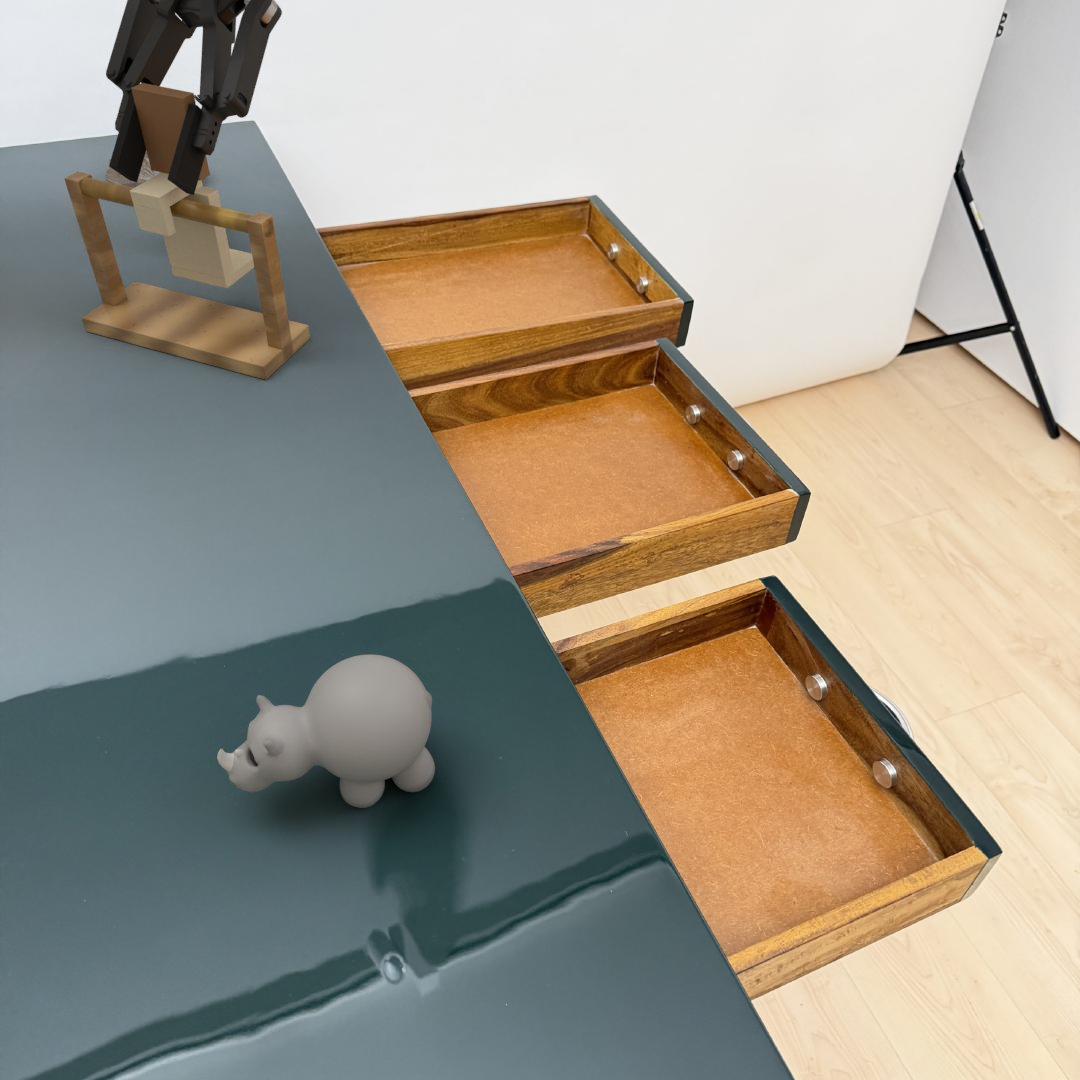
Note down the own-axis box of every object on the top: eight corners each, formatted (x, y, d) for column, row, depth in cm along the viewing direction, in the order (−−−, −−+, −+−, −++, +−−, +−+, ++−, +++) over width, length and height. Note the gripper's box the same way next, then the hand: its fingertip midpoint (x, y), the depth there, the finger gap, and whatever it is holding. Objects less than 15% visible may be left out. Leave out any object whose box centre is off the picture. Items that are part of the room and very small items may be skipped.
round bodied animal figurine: (227, 750, 55) (198, 664, 49) (418, 703, 58) (413, 616, 52) (240, 857, 50) (209, 776, 44) (448, 798, 53) (445, 715, 47)
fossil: (109, 211, 107) (100, 188, 105) (120, 168, 115) (111, 146, 113) (198, 201, 108) (191, 178, 106) (203, 159, 116) (196, 137, 114)
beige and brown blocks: (144, 295, 83) (90, 102, 71) (206, 251, 90) (167, 68, 78) (200, 310, 82) (154, 115, 70) (259, 264, 89) (226, 79, 77)
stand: (85, 331, 87) (38, 191, 77) (138, 294, 92) (100, 158, 83) (266, 380, 83) (240, 238, 73) (310, 338, 88) (291, 201, 79)
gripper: (341, -39, 77) (267, 219, 78) (163, -67, 81) (92, 180, 81) (301, -105, 70) (220, 181, 70) (107, -132, 74) (30, 139, 74)
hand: (152, 180), depth 76 cm, fingers closed on beige and brown blocks, 5 cm apart
